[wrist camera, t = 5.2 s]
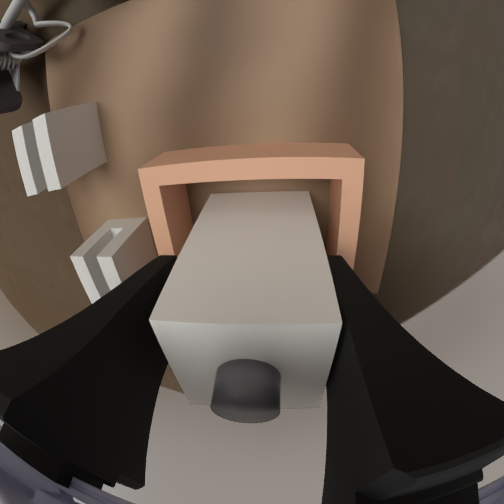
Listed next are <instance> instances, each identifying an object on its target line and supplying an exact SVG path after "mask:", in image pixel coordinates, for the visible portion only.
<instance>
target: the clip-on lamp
mask: <svg viewBox="0 0 504 504" xmlns="http://www.w3.org/2000/svg"><path fill="white" fill-rule="evenodd" d="M24 6H25V7H26V9H27V10H28V12H29V14H30V15H31V17H32V20H33V24H34V26H36V27H38V28H40V27H46V26H66V27H68V30H67V31H66V32H64V33H63V34H62V35H60V36H59V37H57V38H56V39H54V40H53V41H51V42H49V43H48V44H46V45H44V46H42V45H43V42H44V41H43V40H42V39H40V38H39V37H37V36H35V35H34V34H32V33H30V32H29V31H27V30H25V29H24V27H25V25H26V23H23V22H21V21H16V19H17V17H18V16H19V14H20V12H21V10H22V9H23V7H24ZM72 30H73V26H72V24H70V23H68V22H64V21H40V20H39V17H38V15H37V13H36V12H35V10H34V8H33V7H32V5H31V4H30V3H29V1H28V0H13V1H12V2H11V4H10V6H9V8H8V10H7V11H6V13H5V15H4V17H3V19H2V21H0V114H2V113H7V112H13V111H15V110H18V109H19V108H20V106H21V103H22V96H21V94H20V91H19V80H20V63H21V61H22V59H28V58H32V57H35V56H37V55H39V54H41V53H43V52H45V51H46V50H48V49H50V48H52V47H53V46H55V45H56V44H58V43H60V42H61V41H62V40H64V39H65V38H66V37H67V36H68V35H69V34H70V33H71V32H72ZM32 51H33V52H32Z"/></svg>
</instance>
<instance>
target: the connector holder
mask: <svg viewBox="0 0 504 504" xmlns="http://www.w3.org/2000/svg"><path fill="white" fill-rule="evenodd" d="M364 164H365V158H364V157H362V156H361V155H360V154H359V153H358V152H357V151H356V150H355V149H354V148H353V147H352V146H350V145H349V144H346V143H258V144H240V145H225V146H213V147H202V148H193V149H184V150H176V151H168V152H164V153H163V154H161V155H159V156H158V157H156V158H154V159H153V160H151V161H149V162H148V163H146V164H145V165H143V166H141V167H140V168H138V173H139V178H140V183H141V187H142V192H143V196H144V200H145V205H146V209H147V213H148V217H149V221H150V225H151V229H152V233H153V237H154V240H155V244H156V248H157V251H158V255H159V256H160V255H177V258H178V256H179V254H180V252H181V250H182V248H183V246H184V244H185V242H186V240H187V238H188V236H189V234H190V232H191V230H192V228H193V221H192V216H191V211H190V205H189V199H188V193H187V188H186V183H199V182H214V181H232V180H258V179H330V202H329V222H328V237H327V251H326V255H341V256H342V257H343V258H344V259H345V260H346V262H347V263H348V264H349V266H350V267H351V268H352V270H353V268H354V261H355V255H356V247H357V240H358V232H359V223H360V214H361V204H362V193H363V180H364Z"/></svg>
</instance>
